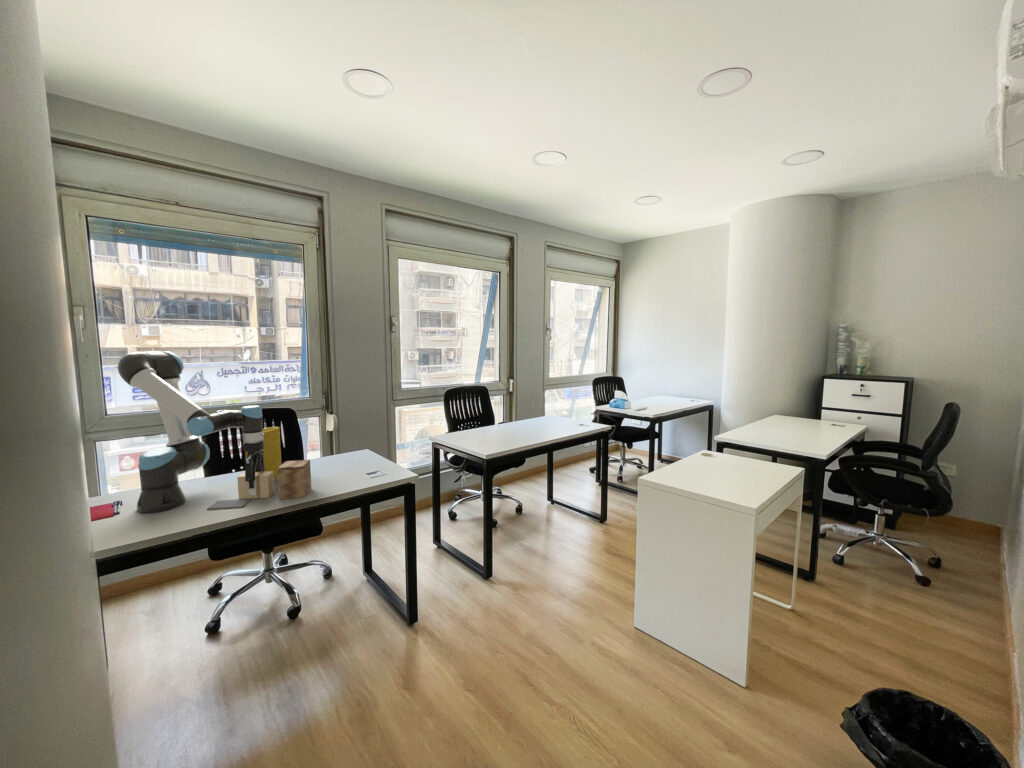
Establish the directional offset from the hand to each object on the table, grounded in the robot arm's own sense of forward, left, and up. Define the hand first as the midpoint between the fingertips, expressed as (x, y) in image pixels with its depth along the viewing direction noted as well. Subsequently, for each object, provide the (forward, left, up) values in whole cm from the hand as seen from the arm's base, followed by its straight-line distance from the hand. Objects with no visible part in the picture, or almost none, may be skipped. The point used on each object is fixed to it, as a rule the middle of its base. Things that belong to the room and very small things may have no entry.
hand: (256, 491), depth 178 cm
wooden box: (+16, 0, -2) cm, 16 cm away
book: (-4, +21, -2) cm, 21 cm away
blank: (0, 0, -2) cm, 2 cm away
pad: (-7, -9, -2) cm, 11 cm away
